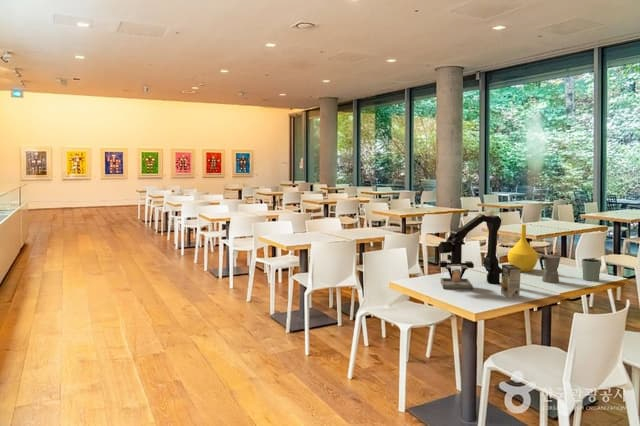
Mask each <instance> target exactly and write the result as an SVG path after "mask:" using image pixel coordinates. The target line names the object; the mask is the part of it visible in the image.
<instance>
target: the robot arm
mask: <svg viewBox="0 0 640 426" xmlns="http://www.w3.org/2000/svg"><path fill="white" fill-rule="evenodd" d="M482 223H485V224H486V227H487V230H488V236H487V237H488V240H487V253H486V256H483V258H482V259H483V260H482V261H483V262H482V265H483V268H484V269H485V271H486V272H487V274H486V282H487V283H488V284H492V285H493V284H495V285H496V284H497V285H498V284H501V280H500V278H501V277H500V276H501V275H502V267H500V265H499V260H498V257H497V245H498V244H497V243H498V231H499V230H500V228H501V225H502V218H501V217H499V216H497V215H486V214H482V213H479V214H477V215H476V216H475V217H474V218H472V219H471V220H469V221H468V222H467V223H466V224H464V225H463V226H461V227H458V228H455V229H453V230H451V231H450V233H449V235H448V237H447V239H446V240H445V241H440V242H439V244H438V247H437V249H438V252H439V254H447V257H446V259H447V260H440V261H438V263H439V264H438V266H439V267H440V268H445V270H447V272H448V274H449V278H451V279H452V267H460V271H461V278H460V279H463V276H464V274H465V272H466V270H468V269H473V268H475V264H474V262H473V261H470V260H469V261H468V260H467V261H464V262H462V261H463V260H462V258H463V257H462V255H463V254H462V253H463V252H462V251H463V250H462V249H463V245H464V246H465V245H466V243H465V242H464V241H463V240H464V239H465V238H466V237H467V235H468V234H469V233H470V232H471V231H473V230H474V229H475V228H477V227H478V226H479V225H480V224H482ZM447 261H450V262H447ZM500 274H501V275H500Z"/></svg>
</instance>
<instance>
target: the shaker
mask: <svg viewBox="0 0 640 426" xmlns="http://www.w3.org/2000/svg"><path fill="white" fill-rule="evenodd" d="M451 273H452V279H451V282H454V283H460V278H461V268H460V269H459V268H451Z"/></svg>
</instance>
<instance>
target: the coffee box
mask: <svg viewBox="0 0 640 426" xmlns="http://www.w3.org/2000/svg"><path fill="white" fill-rule="evenodd" d="M501 269H502V273H501V280H500V284H501V285H500V288H501V290H500V293H501V294H502V295H503V296H504V297H506V298H507V299H520V291H521V290H520V289H521V288H520V287H521V273H522V272H521V268H519V267H517V266H515V265H510V264H508V263H507V264H501Z"/></svg>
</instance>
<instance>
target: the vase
mask: <svg viewBox="0 0 640 426" xmlns="http://www.w3.org/2000/svg"><path fill="white" fill-rule="evenodd" d="M538 256H539V255H538V252H537V251H536V250H535V248H534V247H532V246H531V244H530V243H529V242H528V241H527V225H526V224H521V229H520V239H519V241H518V242H517V243H516V244H515V245H514V246H513V247H512V248H511V249H509V250H508V253H507V260H508V263H509V264H508V265H515V266H517V267H519V268H521V273H522V272H523V273H528V272H531V271H533V270H534V268H535V267H536V265H537V263H538V261H539V260H538V259H539V257H538Z"/></svg>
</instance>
